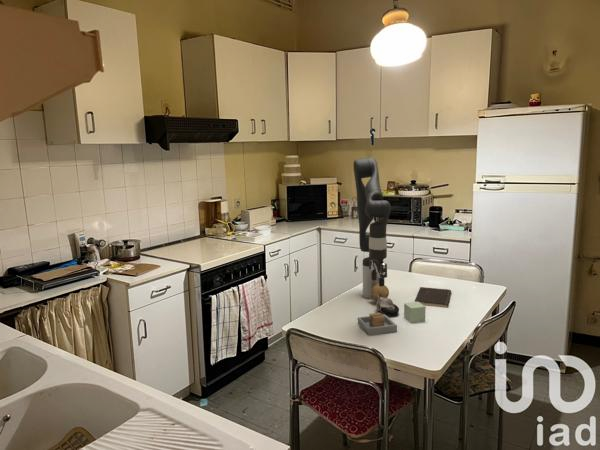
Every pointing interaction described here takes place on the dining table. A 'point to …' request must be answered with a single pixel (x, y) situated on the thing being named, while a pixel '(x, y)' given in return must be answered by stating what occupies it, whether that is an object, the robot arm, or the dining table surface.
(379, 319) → the walnut block
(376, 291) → the natural sponge
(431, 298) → the hardcover book
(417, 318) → the sage block
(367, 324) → the grey tray
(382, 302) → the caster wheel
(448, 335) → the dining table surface
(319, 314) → the dining table surface
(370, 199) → the robot arm
